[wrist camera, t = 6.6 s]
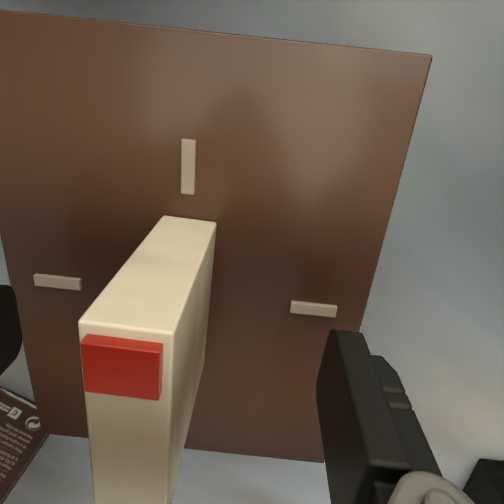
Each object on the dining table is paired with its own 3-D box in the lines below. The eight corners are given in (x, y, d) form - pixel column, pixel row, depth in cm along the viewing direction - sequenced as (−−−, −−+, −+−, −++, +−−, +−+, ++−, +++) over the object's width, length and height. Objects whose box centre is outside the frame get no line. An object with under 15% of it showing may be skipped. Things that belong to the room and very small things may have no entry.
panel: (315, 402, 17) (324, 468, 14) (78, 377, 17) (38, 437, 14) (393, 61, 11) (437, 54, 8) (29, 23, 11) (-55, 2, 8)
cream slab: (204, 361, 12) (162, 538, 7) (159, 356, 12) (89, 529, 7) (217, 221, 10) (170, 343, 5) (163, 214, 10) (67, 330, 5)
